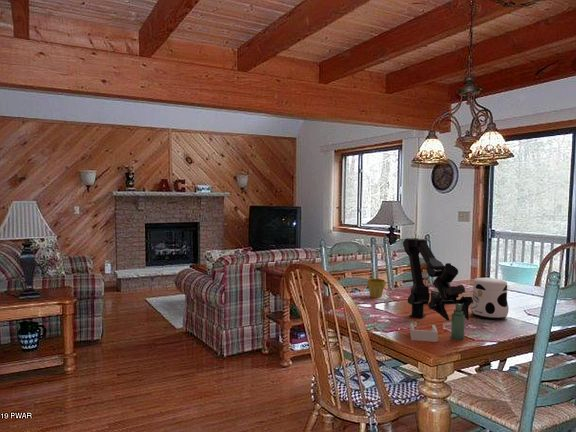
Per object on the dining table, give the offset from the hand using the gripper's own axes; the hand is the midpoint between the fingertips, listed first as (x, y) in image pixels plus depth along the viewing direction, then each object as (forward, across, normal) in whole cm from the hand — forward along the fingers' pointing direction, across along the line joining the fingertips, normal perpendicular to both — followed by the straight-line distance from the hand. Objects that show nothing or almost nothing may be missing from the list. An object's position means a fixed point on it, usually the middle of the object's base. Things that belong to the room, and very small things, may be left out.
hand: (458, 319), depth 189 cm
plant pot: (-49, -4, +59) cm, 77 cm away
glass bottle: (+5, 0, +6) cm, 8 cm away
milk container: (-14, +35, +25) cm, 45 cm away
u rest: (+3, -14, +8) cm, 16 cm away
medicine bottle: (-34, +26, +45) cm, 62 cm away
